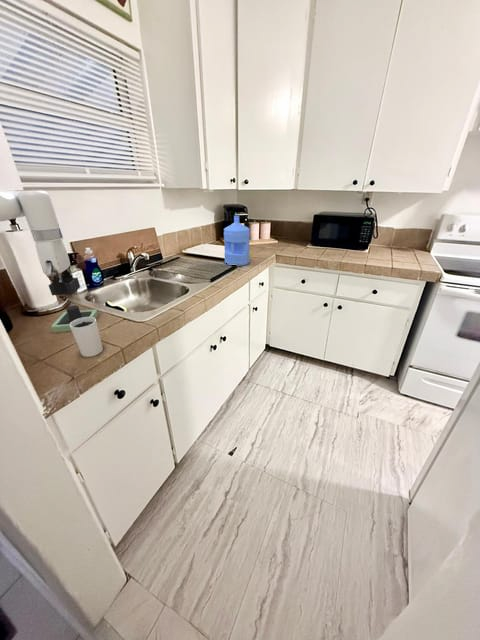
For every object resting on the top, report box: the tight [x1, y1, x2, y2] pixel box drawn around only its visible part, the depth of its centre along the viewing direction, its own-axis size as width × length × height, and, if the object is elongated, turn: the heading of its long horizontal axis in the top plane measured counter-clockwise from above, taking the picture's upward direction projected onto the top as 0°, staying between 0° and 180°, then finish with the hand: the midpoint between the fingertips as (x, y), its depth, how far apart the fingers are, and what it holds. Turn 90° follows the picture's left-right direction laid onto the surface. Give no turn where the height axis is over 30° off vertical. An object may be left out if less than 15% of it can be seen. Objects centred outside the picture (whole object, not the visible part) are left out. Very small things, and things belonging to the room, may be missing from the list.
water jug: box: [223, 215, 251, 267], centre depth 158 cm, size 16×16×28 cm
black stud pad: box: [58, 304, 92, 325], centre depth 93 cm, size 8×8×5 cm
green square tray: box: [50, 309, 99, 333], centre depth 94 cm, size 12×12×2 cm
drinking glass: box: [70, 317, 104, 358], centre depth 76 cm, size 7×7×10 cm
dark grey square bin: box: [48, 277, 81, 296], centre depth 88 cm, size 7×7×4 cm
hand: (66, 289), depth 88 cm, fingers closed on dark grey square bin, 6 cm apart
